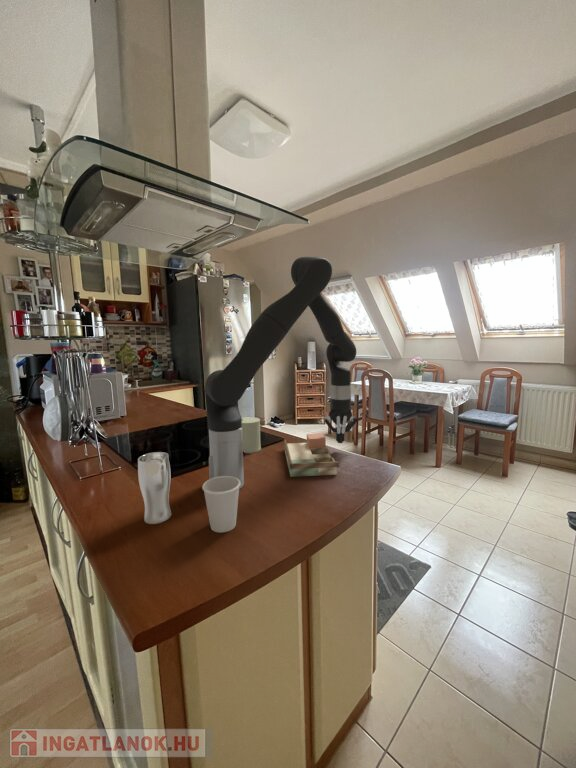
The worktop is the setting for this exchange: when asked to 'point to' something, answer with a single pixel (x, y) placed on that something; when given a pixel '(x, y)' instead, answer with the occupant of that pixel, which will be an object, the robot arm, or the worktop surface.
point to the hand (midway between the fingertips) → (340, 442)
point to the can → (251, 434)
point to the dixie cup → (222, 502)
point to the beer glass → (155, 486)
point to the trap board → (309, 460)
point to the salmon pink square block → (316, 441)
